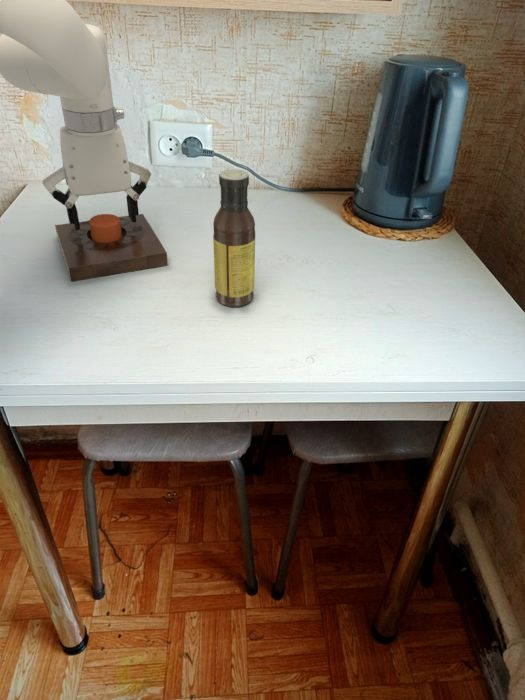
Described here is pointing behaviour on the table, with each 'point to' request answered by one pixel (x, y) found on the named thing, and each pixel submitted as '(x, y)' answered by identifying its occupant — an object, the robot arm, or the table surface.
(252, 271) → the sauce bottle
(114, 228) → the orange cylinder
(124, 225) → the back board
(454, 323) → the table surface
